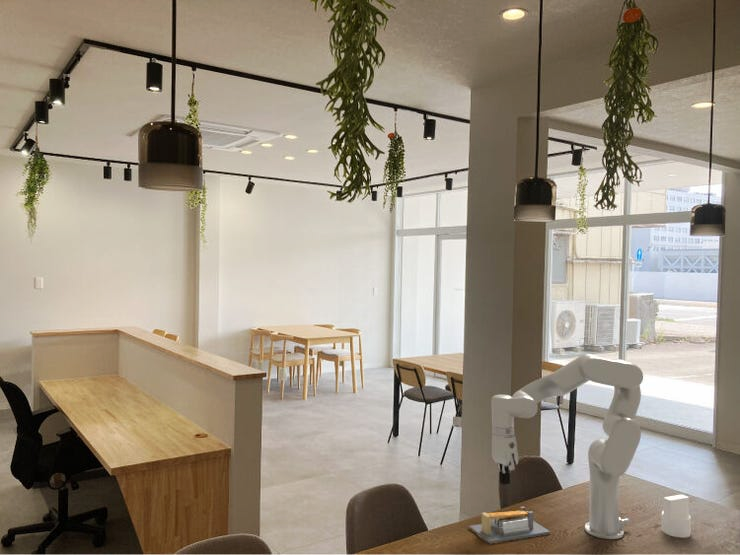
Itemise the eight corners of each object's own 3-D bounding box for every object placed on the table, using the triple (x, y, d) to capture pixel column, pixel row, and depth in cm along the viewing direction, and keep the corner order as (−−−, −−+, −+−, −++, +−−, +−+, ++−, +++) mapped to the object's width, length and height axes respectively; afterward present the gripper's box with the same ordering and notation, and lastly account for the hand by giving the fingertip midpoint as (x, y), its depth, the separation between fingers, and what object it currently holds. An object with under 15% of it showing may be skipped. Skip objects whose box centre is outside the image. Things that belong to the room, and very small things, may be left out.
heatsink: (514, 521, 211) (514, 510, 211) (529, 531, 203) (529, 520, 203) (489, 525, 208) (489, 513, 208) (504, 535, 199) (504, 523, 200)
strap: (525, 513, 209) (525, 509, 209) (530, 516, 207) (530, 512, 207) (486, 516, 204) (487, 512, 204) (491, 519, 201) (491, 515, 201)
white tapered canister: (674, 525, 212) (675, 491, 212) (696, 535, 204) (697, 500, 204) (655, 528, 209) (655, 494, 209) (677, 539, 201) (677, 503, 201)
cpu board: (527, 519, 216) (527, 500, 216) (550, 534, 203) (550, 513, 203) (469, 528, 207) (469, 508, 207) (489, 544, 195) (489, 523, 195)
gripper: (525, 434, 202) (526, 488, 202) (500, 425, 216) (501, 475, 216) (506, 437, 200) (508, 491, 199) (482, 427, 213) (483, 478, 213)
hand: (504, 483), depth 208 cm, fingers closed
